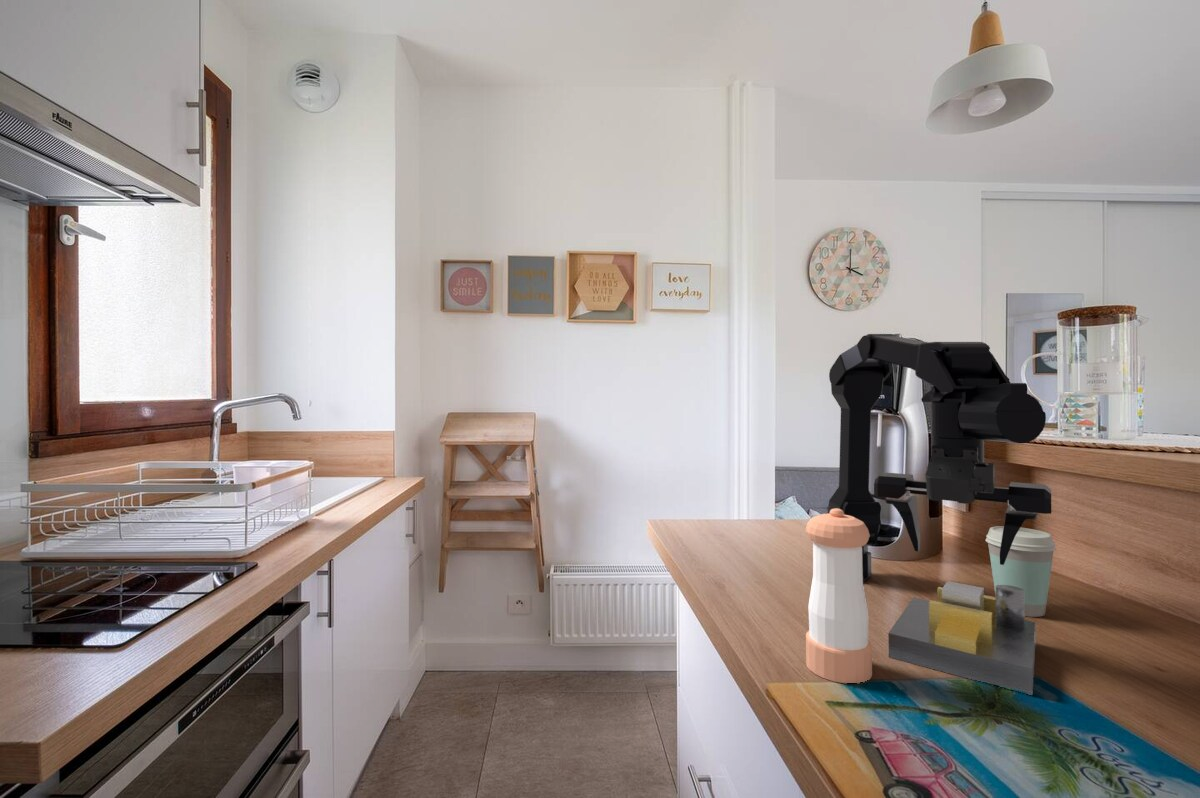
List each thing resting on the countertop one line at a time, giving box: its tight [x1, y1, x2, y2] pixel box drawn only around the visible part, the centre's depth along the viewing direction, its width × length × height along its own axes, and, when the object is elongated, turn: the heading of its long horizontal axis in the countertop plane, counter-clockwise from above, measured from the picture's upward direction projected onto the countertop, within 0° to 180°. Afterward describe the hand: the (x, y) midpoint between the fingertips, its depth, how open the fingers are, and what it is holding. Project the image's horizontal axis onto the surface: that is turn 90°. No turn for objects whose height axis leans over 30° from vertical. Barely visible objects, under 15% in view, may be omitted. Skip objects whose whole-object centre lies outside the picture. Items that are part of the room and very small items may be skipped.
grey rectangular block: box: [942, 580, 985, 611], centre depth 68 cm, size 4×4×8 cm
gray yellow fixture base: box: [887, 585, 1036, 696], centre depth 68 cm, size 14×16×8 cm
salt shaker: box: [805, 508, 873, 684], centre depth 64 cm, size 7×7×19 cm
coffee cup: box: [985, 525, 1057, 618], centre depth 82 cm, size 8×9×12 cm
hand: (957, 557), depth 69 cm, fingers open, 9 cm apart
